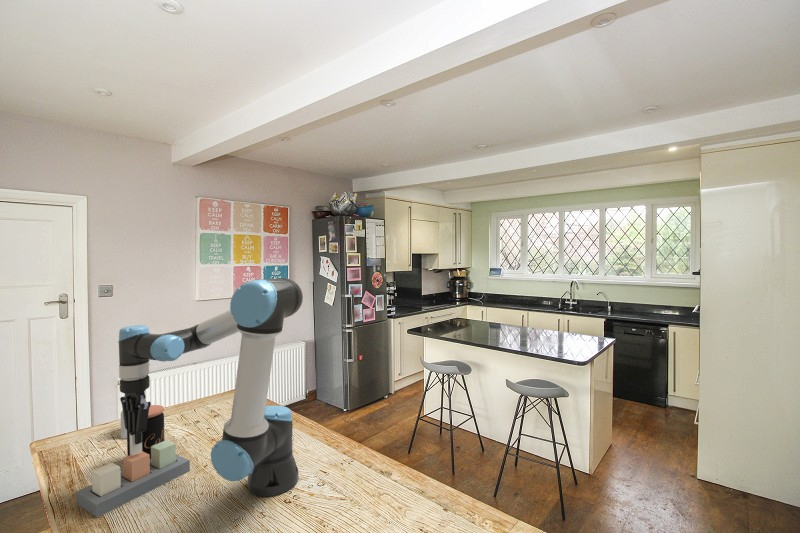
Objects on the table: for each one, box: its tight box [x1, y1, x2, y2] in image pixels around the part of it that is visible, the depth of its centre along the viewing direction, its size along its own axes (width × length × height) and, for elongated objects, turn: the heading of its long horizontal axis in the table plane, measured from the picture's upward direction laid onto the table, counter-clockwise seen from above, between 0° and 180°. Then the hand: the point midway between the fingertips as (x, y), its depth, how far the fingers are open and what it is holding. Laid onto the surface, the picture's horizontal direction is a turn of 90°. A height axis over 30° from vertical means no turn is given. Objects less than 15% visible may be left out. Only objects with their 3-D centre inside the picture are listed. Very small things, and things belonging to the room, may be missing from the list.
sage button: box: [151, 439, 177, 469], centre depth 125 cm, size 5×5×6 cm
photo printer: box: [120, 409, 127, 440], centre depth 153 cm, size 10×4×12 cm, turn 13°
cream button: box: [91, 462, 121, 497], centre depth 111 cm, size 5×5×6 cm
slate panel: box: [75, 454, 191, 518], centre depth 118 cm, size 12×26×4 cm, turn 151°
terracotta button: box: [122, 451, 150, 482], centre depth 118 cm, size 5×5×6 cm
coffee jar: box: [126, 404, 166, 459], centre depth 131 cm, size 11×11×18 cm
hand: (136, 453), depth 118 cm, fingers closed
